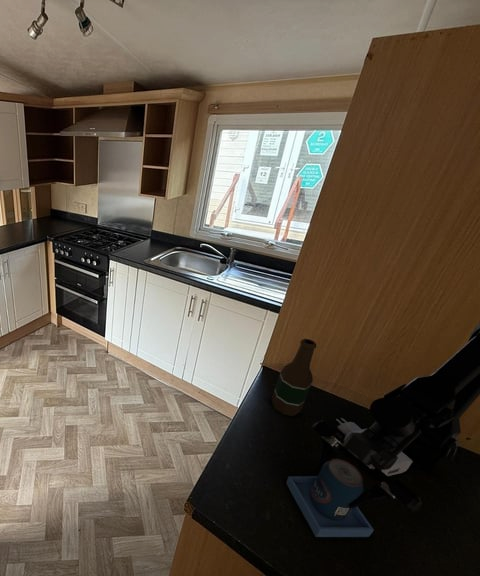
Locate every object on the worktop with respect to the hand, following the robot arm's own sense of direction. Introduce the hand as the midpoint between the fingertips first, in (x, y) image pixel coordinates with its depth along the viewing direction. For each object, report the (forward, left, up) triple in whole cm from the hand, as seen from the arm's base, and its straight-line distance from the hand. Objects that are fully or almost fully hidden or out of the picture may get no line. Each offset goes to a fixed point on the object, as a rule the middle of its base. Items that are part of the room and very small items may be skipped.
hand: (331, 490), depth 65 cm
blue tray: (-1, -1, -7) cm, 7 cm away
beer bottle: (+8, -29, -7) cm, 31 cm away
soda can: (-1, -1, -7) cm, 7 cm away
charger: (-10, -23, -7) cm, 26 cm away
